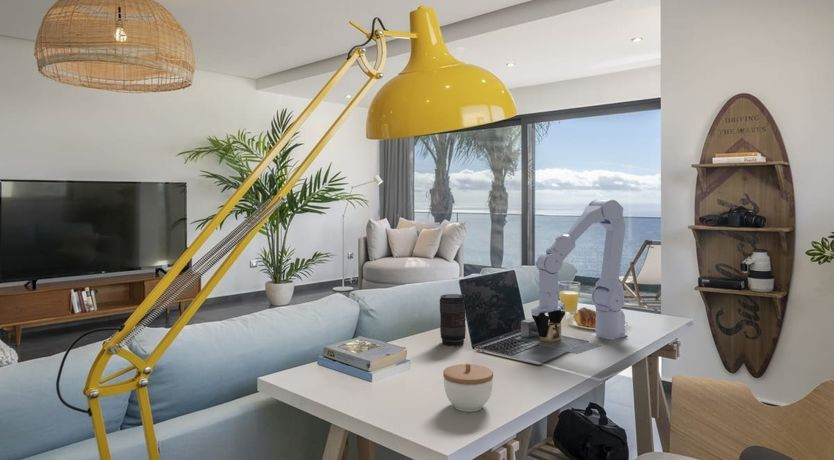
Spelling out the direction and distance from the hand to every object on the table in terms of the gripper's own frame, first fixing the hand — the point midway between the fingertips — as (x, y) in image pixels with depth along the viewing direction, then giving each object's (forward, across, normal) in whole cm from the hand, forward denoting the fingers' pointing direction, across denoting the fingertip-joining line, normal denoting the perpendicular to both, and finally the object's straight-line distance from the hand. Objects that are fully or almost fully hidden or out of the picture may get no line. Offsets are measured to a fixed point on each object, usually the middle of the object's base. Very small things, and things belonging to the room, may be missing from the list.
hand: (548, 335), depth 168 cm
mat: (+2, 0, -3) cm, 4 cm away
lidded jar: (+2, -56, -20) cm, 60 cm away
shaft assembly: (+2, 0, +3) cm, 3 cm away
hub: (+2, 0, -1) cm, 2 cm away
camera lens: (+2, -23, +19) cm, 30 cm away
